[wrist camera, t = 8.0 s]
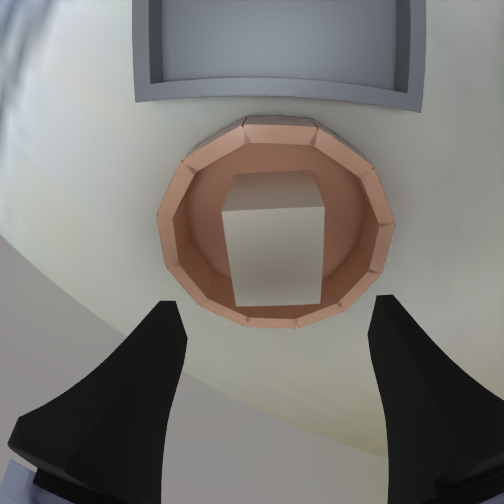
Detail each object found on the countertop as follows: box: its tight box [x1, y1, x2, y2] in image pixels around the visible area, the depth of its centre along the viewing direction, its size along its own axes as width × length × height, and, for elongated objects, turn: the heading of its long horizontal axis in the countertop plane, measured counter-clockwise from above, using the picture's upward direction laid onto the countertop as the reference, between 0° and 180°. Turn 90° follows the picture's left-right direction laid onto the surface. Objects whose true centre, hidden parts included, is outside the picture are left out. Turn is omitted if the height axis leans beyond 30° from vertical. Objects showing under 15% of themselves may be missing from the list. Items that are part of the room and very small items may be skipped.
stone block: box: [221, 170, 325, 307], centre depth 15 cm, size 4×5×4 cm
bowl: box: [157, 115, 395, 328], centre depth 16 cm, size 12×12×3 cm
